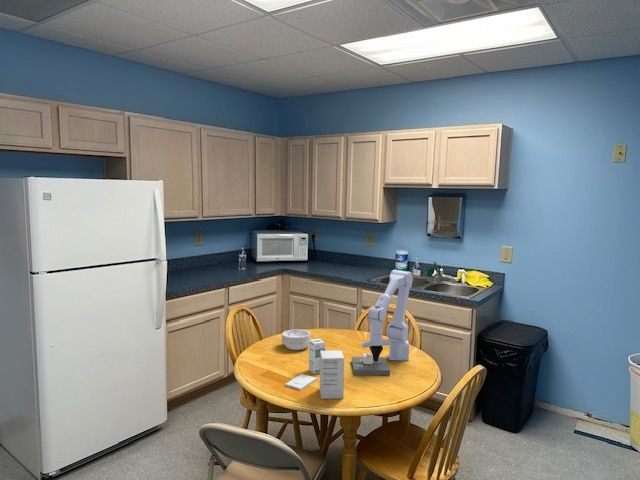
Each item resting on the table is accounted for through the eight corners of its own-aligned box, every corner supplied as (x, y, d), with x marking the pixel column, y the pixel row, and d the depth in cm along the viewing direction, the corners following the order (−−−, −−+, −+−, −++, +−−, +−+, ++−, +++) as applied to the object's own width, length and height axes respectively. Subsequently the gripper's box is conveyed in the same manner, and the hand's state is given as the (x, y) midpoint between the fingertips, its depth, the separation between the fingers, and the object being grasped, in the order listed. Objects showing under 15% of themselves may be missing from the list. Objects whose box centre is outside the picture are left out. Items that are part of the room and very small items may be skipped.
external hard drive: (316, 381, 194) (300, 391, 184) (300, 377, 199) (284, 387, 188) (316, 377, 194) (300, 388, 184) (301, 373, 198) (284, 383, 188)
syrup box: (314, 374, 200) (314, 343, 199) (308, 369, 205) (308, 339, 204) (325, 372, 203) (325, 341, 201) (319, 367, 208) (319, 337, 206)
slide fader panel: (384, 362, 216) (384, 356, 216) (389, 375, 200) (389, 370, 200) (351, 361, 216) (351, 356, 216) (354, 375, 200) (354, 369, 200)
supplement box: (344, 399, 177) (344, 358, 175) (320, 399, 176) (321, 358, 174) (340, 388, 186) (341, 349, 185) (319, 389, 186) (319, 350, 184)
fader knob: (371, 360, 210) (371, 353, 210) (372, 364, 205) (372, 357, 205) (362, 360, 210) (362, 353, 210) (363, 364, 205) (363, 357, 205)
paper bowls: (294, 340, 245) (294, 326, 245) (316, 346, 237) (316, 332, 236) (275, 348, 233) (275, 333, 232) (298, 354, 224) (298, 339, 223)
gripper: (386, 329, 212) (385, 356, 214) (358, 331, 208) (357, 359, 209) (393, 333, 206) (392, 361, 207) (364, 336, 201) (364, 365, 203)
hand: (375, 361), depth 208 cm, fingers closed
